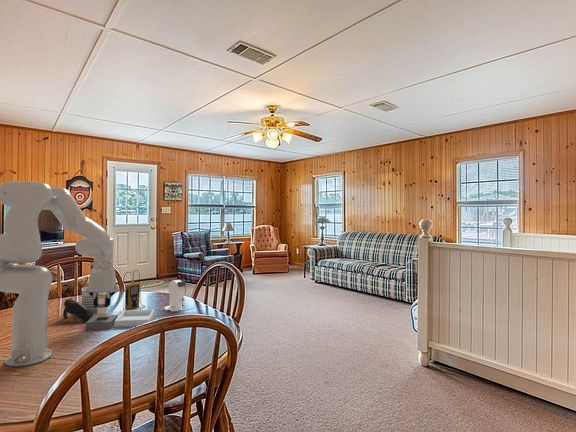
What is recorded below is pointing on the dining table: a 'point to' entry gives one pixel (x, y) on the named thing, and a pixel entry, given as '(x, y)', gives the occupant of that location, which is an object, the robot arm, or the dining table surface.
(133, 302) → the multimeter
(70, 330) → the dining table surface
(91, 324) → the grey flat square block
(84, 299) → the can
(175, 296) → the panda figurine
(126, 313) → the parts tray
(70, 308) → the gun
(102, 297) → the cylinder
